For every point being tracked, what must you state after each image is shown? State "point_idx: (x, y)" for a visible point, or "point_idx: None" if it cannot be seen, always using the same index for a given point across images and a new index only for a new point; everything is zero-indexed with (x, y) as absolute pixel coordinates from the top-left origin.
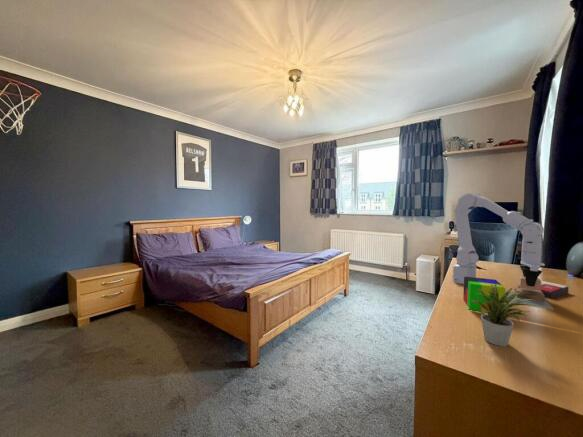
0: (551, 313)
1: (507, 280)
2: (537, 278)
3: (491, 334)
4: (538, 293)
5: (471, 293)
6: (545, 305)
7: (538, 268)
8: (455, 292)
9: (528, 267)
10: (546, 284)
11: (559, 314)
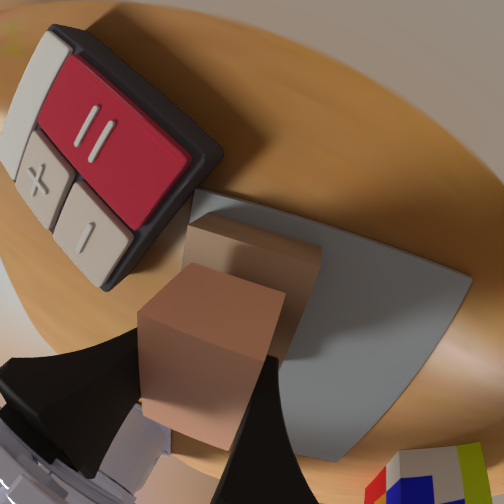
0: (491, 305)
1: (5, 232)
2: (147, 329)
3: None
4: (282, 287)
5: None
6: (408, 286)
7: (49, 408)
8: None
9: (77, 455)
10: (42, 126)
11: (500, 274)
